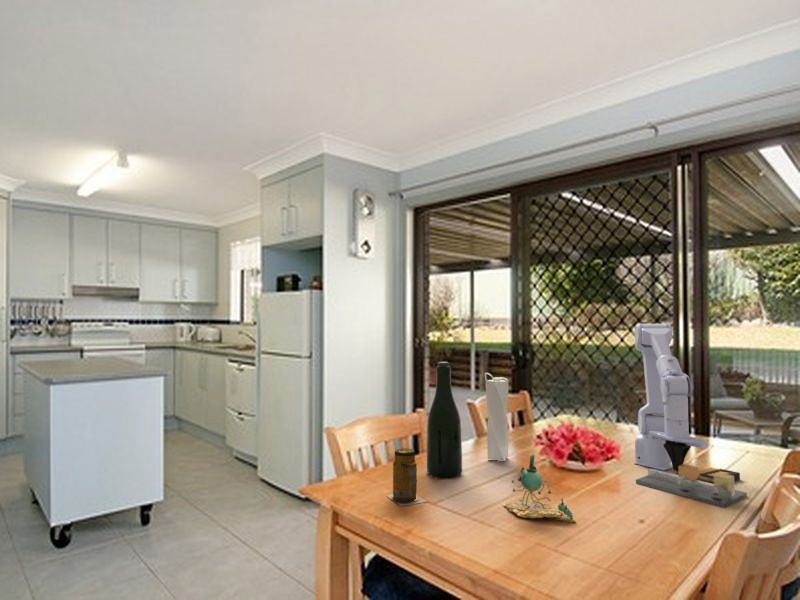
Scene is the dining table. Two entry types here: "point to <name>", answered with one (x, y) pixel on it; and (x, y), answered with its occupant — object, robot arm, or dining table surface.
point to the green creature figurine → (533, 508)
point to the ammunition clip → (708, 474)
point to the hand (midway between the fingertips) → (677, 470)
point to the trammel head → (687, 473)
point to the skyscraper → (497, 418)
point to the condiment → (405, 478)
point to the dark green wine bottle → (444, 429)
